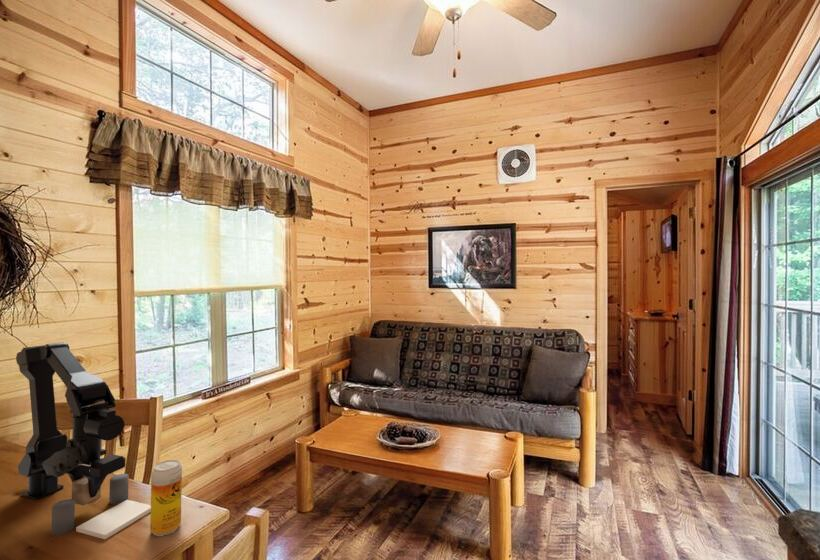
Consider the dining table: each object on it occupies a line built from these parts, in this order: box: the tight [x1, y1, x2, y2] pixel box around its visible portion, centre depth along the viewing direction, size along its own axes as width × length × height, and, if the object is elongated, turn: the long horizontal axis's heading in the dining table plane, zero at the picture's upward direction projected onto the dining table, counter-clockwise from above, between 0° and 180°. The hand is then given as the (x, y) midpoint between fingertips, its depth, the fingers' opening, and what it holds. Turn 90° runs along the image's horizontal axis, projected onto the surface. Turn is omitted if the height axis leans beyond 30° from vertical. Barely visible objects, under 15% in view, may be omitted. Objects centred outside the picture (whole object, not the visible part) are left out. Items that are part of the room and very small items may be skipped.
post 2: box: [108, 473, 130, 506], centre depth 104 cm, size 4×4×6 cm
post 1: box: [50, 498, 76, 536], centre depth 91 cm, size 4×4×6 cm
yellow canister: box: [149, 459, 183, 537], centre depth 92 cm, size 6×6×15 cm
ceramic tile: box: [75, 499, 151, 540], centre depth 95 cm, size 9×12×1 cm
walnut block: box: [71, 477, 102, 506], centre depth 98 cm, size 4×4×5 cm
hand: (86, 495), depth 98 cm, fingers closed on walnut block, 4 cm apart
